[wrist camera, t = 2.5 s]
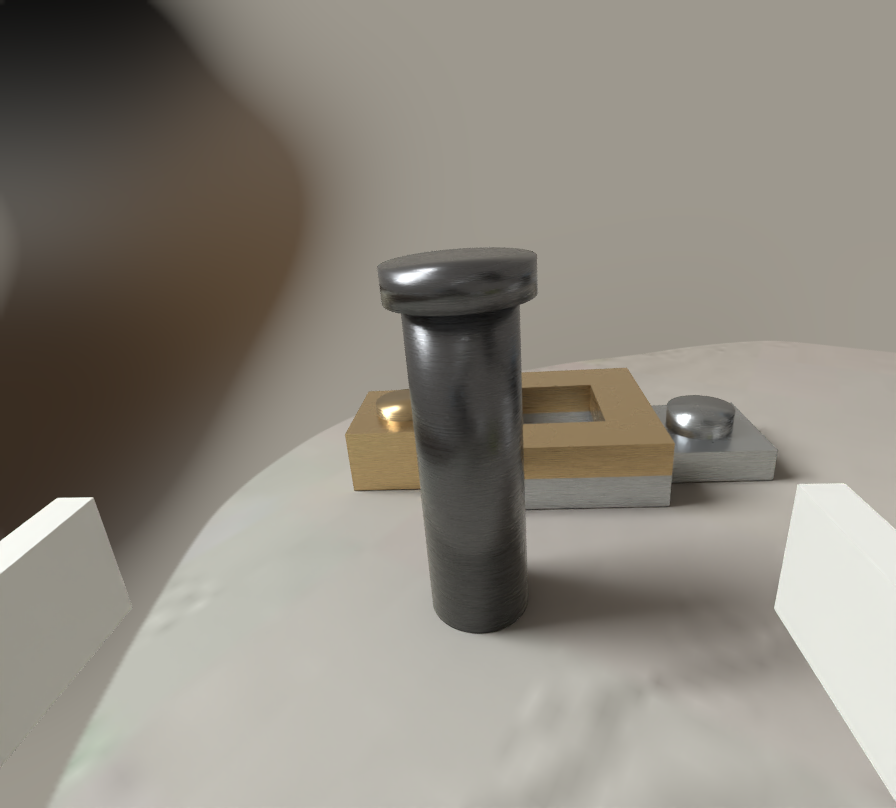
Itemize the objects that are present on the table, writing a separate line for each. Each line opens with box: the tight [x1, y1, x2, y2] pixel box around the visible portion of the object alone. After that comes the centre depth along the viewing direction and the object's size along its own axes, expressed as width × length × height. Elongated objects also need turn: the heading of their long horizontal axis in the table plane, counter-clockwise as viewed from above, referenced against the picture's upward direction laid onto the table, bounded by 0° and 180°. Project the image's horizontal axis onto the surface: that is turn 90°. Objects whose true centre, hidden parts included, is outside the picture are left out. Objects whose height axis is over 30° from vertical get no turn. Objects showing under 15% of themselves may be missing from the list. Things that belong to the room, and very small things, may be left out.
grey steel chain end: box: [523, 395, 778, 509], centre depth 34 cm, size 17×11×3 cm, turn 86°
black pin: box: [377, 248, 537, 633], centre depth 21 cm, size 5×5×14 cm
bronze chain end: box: [345, 368, 675, 490], centre depth 34 cm, size 17×11×4 cm, turn 86°
